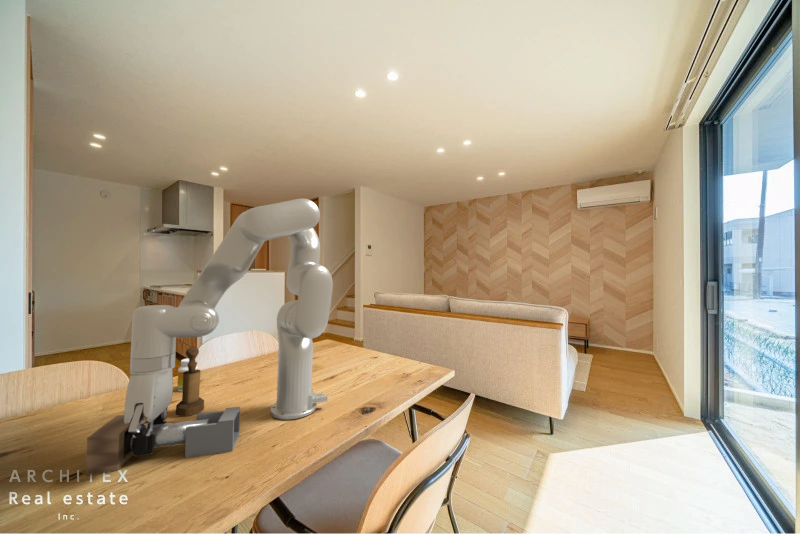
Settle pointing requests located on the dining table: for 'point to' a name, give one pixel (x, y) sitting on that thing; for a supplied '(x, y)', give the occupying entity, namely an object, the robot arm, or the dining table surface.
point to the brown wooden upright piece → (190, 387)
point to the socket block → (107, 447)
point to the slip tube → (165, 434)
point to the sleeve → (213, 433)
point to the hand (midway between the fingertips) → (150, 446)
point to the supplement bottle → (180, 373)
